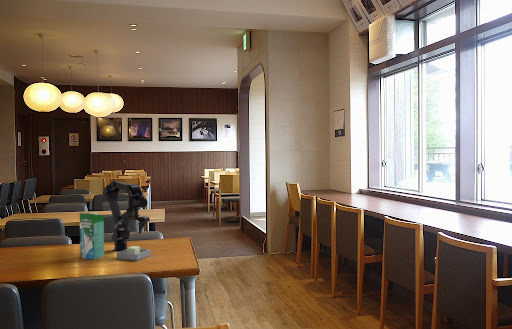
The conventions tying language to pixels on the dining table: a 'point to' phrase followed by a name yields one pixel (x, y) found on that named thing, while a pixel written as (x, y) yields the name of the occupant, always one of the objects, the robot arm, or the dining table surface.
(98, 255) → the milk carton
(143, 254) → the slate bin
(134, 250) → the sage cube
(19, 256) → the dining table surface
